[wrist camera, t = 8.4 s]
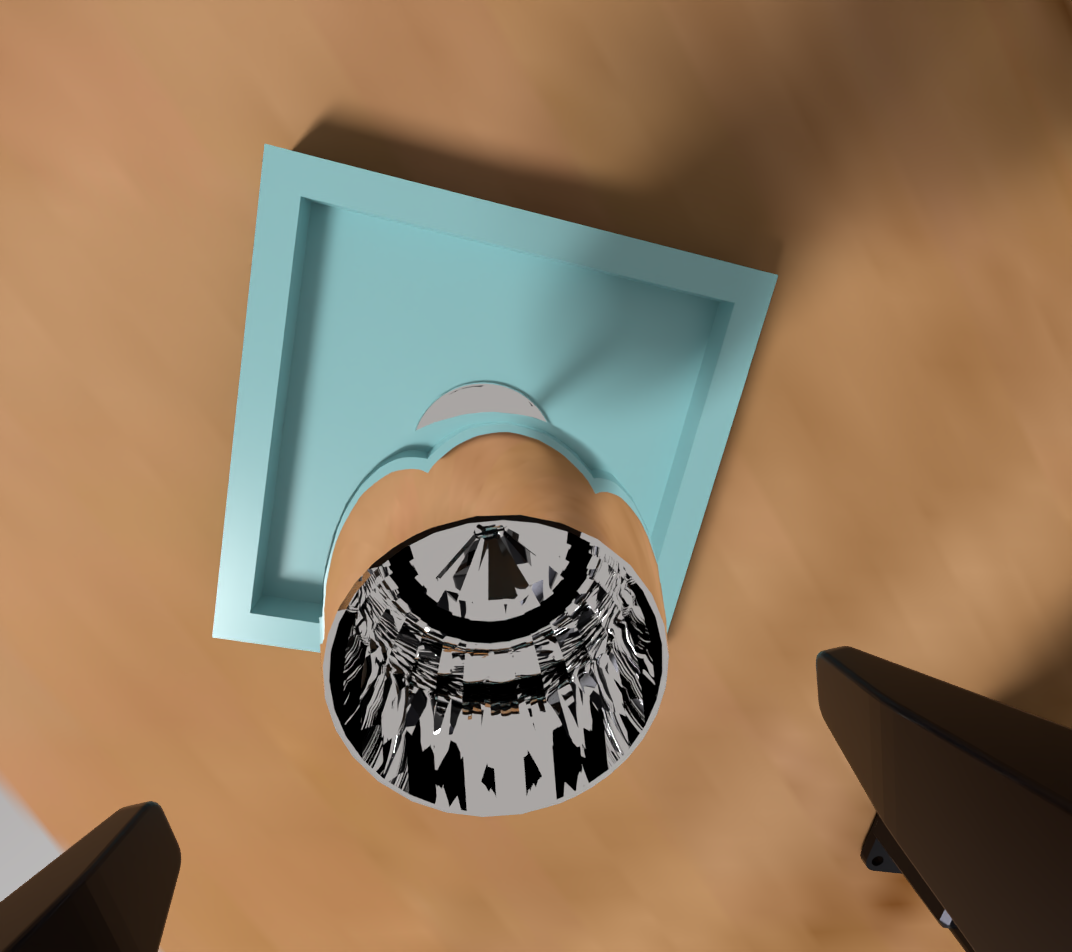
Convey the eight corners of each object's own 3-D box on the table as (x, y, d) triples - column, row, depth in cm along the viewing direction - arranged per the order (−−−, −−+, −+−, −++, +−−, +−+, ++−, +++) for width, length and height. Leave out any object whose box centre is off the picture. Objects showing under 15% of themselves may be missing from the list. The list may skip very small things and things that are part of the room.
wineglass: (537, 331, 19) (635, 400, 8) (599, 501, 21) (754, 762, 10) (357, 401, 19) (192, 573, 8) (434, 565, 21) (389, 901, 10)
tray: (751, 275, 20) (778, 275, 18) (634, 668, 24) (646, 698, 22) (284, 157, 18) (264, 143, 16) (233, 608, 21) (212, 637, 20)
